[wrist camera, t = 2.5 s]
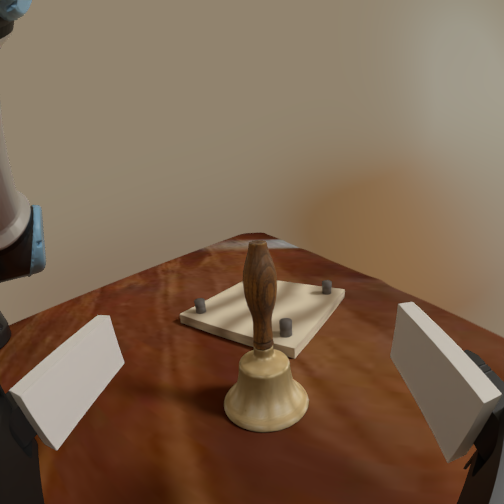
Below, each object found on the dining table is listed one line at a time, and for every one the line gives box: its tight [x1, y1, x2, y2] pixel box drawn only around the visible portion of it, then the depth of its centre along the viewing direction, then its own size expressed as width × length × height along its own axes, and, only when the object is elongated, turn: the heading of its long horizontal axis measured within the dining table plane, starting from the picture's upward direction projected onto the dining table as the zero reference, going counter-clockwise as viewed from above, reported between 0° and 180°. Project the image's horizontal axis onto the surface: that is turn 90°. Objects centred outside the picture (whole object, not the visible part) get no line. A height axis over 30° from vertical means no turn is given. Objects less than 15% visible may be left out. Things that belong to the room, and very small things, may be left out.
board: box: [179, 280, 345, 359], centre depth 44 cm, size 20×20×4 cm
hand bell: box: [224, 240, 309, 432], centre depth 22 cm, size 8×8×16 cm
